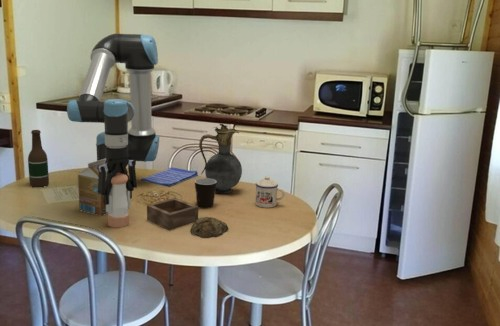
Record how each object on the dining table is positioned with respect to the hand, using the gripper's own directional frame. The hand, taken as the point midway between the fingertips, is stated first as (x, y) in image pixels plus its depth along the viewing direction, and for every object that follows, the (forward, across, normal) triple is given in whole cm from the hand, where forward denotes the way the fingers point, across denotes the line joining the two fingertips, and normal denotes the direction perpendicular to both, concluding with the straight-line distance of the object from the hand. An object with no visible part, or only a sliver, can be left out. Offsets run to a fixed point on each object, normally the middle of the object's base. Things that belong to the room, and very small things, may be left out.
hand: (118, 210), depth 168 cm
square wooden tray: (+5, +16, -10) cm, 20 cm away
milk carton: (+5, +3, +17) cm, 18 cm away
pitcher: (+5, +53, +4) cm, 53 cm away
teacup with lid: (+5, +56, -22) cm, 60 cm away
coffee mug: (+5, +37, -5) cm, 38 cm away
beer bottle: (+5, -1, +59) cm, 59 cm away
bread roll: (+6, +19, -25) cm, 32 cm away
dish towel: (+6, +49, +33) cm, 59 cm away
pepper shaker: (+5, 0, 0) cm, 5 cm away
